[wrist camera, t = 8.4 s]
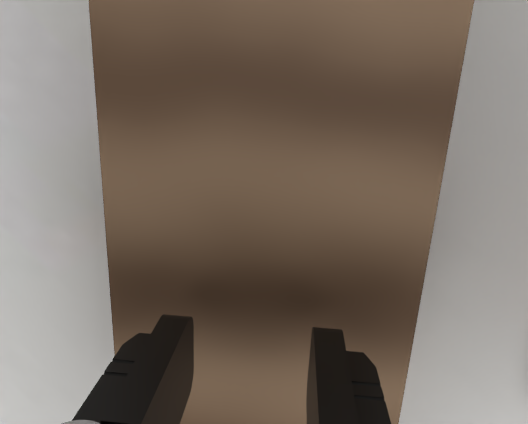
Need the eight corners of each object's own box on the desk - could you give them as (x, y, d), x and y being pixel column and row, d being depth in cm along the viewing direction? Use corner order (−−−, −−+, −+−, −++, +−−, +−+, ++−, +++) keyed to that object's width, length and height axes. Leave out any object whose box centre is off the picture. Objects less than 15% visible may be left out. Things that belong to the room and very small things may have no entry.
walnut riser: (126, -81, 13) (79, -123, 11) (451, -72, 13) (494, -115, 10) (151, 458, 20) (126, 521, 17) (364, 481, 20) (375, 550, 17)
